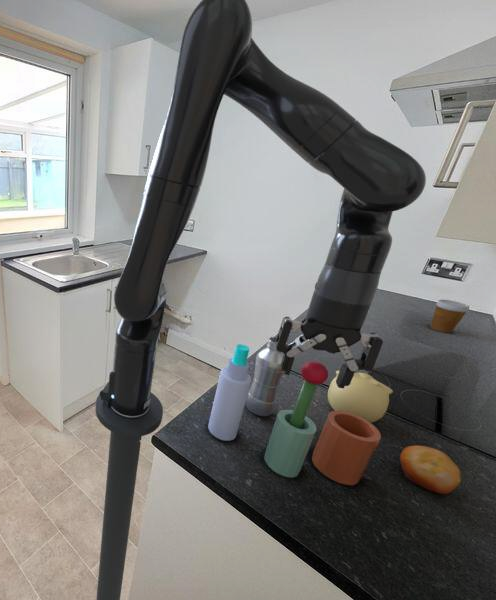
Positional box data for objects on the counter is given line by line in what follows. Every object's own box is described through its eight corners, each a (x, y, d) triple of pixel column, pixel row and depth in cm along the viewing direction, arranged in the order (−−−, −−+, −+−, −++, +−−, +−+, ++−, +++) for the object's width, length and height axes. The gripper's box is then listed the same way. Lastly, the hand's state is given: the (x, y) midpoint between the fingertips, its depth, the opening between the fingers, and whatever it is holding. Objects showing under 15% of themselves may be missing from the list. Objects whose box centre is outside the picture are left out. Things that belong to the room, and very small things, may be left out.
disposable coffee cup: (423, 322, 138) (435, 297, 133) (453, 329, 132) (467, 303, 128) (427, 329, 131) (440, 303, 126) (459, 337, 125) (474, 309, 121)
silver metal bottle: (271, 423, 74) (295, 351, 67) (241, 412, 77) (260, 341, 70) (273, 408, 79) (295, 339, 72) (244, 398, 82) (263, 331, 75)
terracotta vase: (315, 475, 61) (334, 432, 57) (308, 445, 68) (324, 405, 64) (365, 492, 58) (388, 447, 54) (352, 459, 65) (371, 418, 61)
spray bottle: (226, 446, 67) (249, 358, 59) (202, 428, 71) (221, 344, 63) (241, 434, 70) (265, 350, 62) (217, 418, 75) (237, 337, 67)
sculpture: (380, 412, 80) (397, 377, 76) (377, 437, 71) (396, 399, 68) (327, 391, 87) (340, 358, 83) (319, 412, 79) (333, 376, 75)
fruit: (451, 471, 62) (470, 457, 57) (443, 507, 59) (462, 496, 54) (397, 446, 67) (410, 431, 62) (387, 479, 64) (399, 466, 59)
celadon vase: (265, 469, 62) (279, 426, 58) (263, 446, 67) (276, 405, 63) (302, 482, 60) (319, 438, 56) (297, 457, 65) (313, 416, 61)
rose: (272, 463, 62) (306, 365, 54) (271, 449, 66) (302, 355, 57) (295, 471, 61) (334, 372, 52) (292, 456, 64) (328, 360, 56)
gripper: (295, 293, 49) (269, 378, 55) (409, 311, 44) (367, 403, 50) (289, 280, 56) (266, 358, 62) (388, 295, 51) (353, 378, 57)
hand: (312, 378), depth 56 cm, fingers open, 8 cm apart
